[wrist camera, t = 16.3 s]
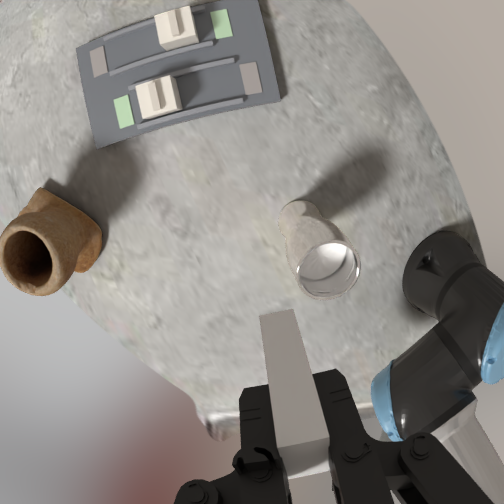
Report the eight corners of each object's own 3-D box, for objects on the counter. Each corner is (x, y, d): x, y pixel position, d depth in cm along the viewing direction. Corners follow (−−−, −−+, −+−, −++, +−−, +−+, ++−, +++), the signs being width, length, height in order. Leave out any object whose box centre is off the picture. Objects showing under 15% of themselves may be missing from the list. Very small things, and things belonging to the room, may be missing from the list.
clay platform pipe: (119, 216, 41) (73, 264, 27) (90, 276, 44) (49, 334, 31) (42, 164, 36) (-22, 190, 23) (21, 227, 40) (-34, 269, 26)
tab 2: (176, 79, 32) (168, 74, 28) (182, 109, 34) (175, 108, 29) (144, 88, 32) (133, 85, 28) (151, 118, 34) (140, 118, 29)
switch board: (255, 0, 30) (257, -8, 27) (278, 101, 36) (282, 100, 33) (82, 50, 30) (72, 47, 28) (102, 147, 37) (93, 150, 34)
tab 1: (193, 16, 29) (188, 3, 24) (199, 42, 30) (194, 32, 26) (161, 24, 29) (152, 13, 24) (167, 51, 30) (158, 43, 26)
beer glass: (265, 230, 43) (280, 285, 29) (291, 187, 41) (321, 224, 27) (306, 252, 45) (335, 311, 31) (332, 212, 43) (375, 258, 29)
